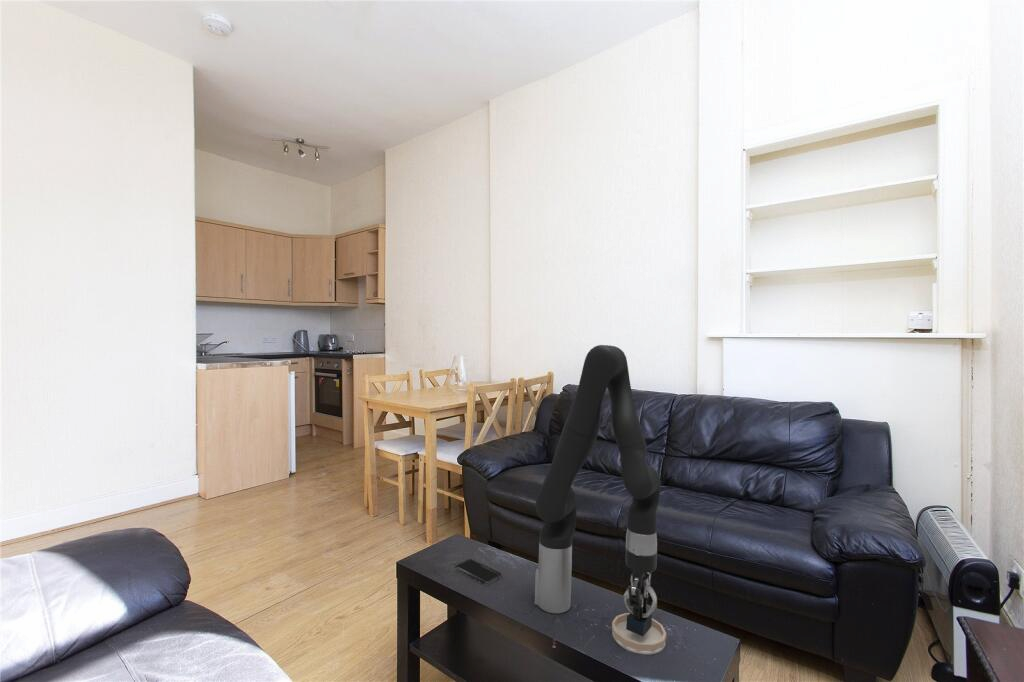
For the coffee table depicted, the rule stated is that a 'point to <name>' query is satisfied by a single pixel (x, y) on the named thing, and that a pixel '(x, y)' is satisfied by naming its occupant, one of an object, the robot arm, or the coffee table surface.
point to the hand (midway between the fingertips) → (639, 616)
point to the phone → (478, 571)
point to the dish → (639, 637)
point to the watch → (645, 624)
